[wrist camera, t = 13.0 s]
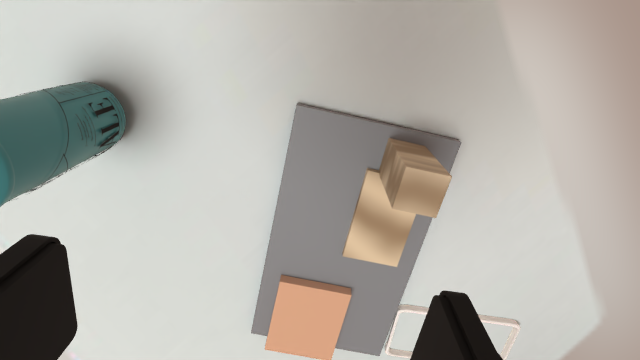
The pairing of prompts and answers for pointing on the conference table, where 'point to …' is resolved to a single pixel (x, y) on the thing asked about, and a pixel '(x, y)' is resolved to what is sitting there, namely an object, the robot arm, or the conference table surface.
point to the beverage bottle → (54, 133)
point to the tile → (307, 317)
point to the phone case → (424, 311)
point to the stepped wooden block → (395, 202)
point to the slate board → (339, 220)
